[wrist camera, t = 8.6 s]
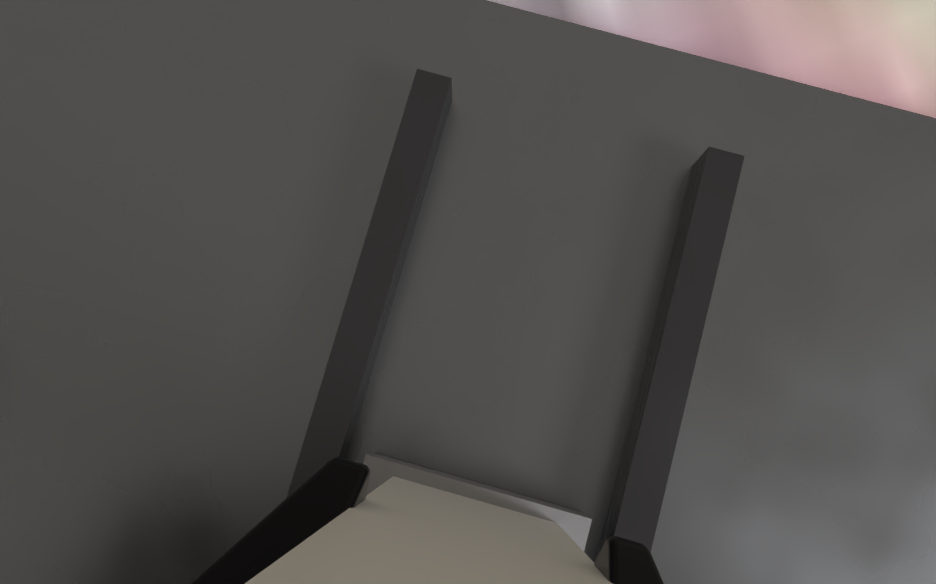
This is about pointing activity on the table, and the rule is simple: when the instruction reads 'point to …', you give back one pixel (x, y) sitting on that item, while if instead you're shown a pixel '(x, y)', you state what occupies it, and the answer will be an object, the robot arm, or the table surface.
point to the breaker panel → (454, 286)
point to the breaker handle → (440, 536)
